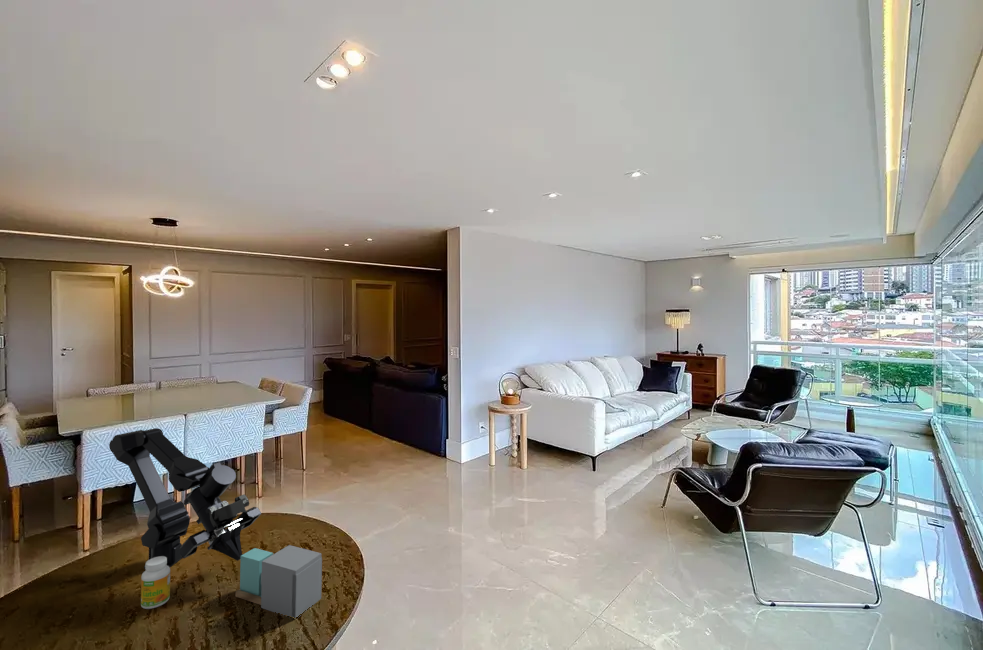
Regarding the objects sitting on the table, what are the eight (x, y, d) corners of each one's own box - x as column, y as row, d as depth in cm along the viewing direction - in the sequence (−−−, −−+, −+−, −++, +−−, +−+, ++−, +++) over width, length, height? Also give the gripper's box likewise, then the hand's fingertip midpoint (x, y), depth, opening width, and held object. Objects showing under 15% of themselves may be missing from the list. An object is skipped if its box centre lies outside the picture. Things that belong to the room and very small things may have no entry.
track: (235, 596, 105) (235, 591, 105) (258, 581, 111) (258, 577, 111) (263, 605, 102) (264, 600, 102) (285, 590, 108) (285, 585, 108)
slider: (239, 592, 106) (240, 555, 106) (254, 583, 110) (254, 547, 110) (265, 600, 103) (265, 562, 103) (278, 591, 107) (279, 554, 107)
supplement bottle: (138, 612, 99) (138, 569, 99) (143, 598, 103) (144, 557, 103) (167, 605, 101) (168, 563, 101) (171, 592, 106) (172, 552, 106)
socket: (261, 607, 101) (261, 561, 101) (288, 588, 109) (289, 544, 109) (295, 619, 98) (296, 571, 98) (321, 598, 105) (322, 553, 105)
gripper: (188, 502, 102) (222, 560, 98) (257, 476, 119) (287, 524, 116) (165, 530, 105) (197, 586, 101) (235, 500, 122) (264, 548, 118)
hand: (240, 559), depth 109 cm, fingers closed
